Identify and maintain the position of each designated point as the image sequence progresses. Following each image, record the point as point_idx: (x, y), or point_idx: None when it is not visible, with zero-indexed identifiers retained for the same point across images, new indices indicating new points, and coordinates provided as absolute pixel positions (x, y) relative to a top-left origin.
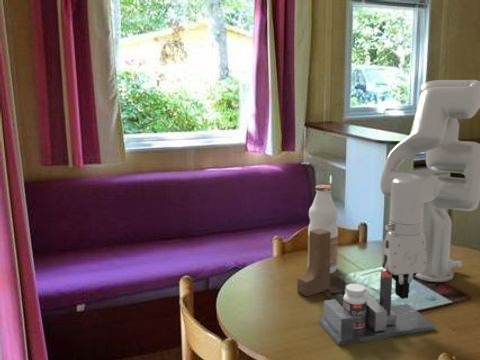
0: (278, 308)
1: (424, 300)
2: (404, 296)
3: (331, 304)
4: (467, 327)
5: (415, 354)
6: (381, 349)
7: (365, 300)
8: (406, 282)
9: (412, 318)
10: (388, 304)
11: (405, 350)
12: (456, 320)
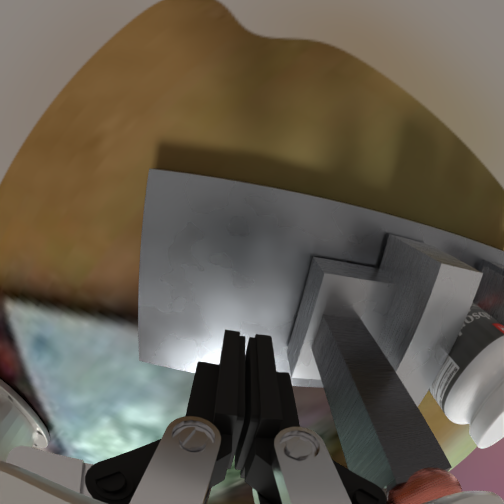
0: (448, 431)
1: (65, 351)
2: (258, 341)
3: None
4: (47, 139)
5: (372, 73)
6: (446, 165)
7: (494, 351)
8: (218, 434)
9: (200, 265)
10: (347, 338)
11: (387, 110)
12: (44, 196)
